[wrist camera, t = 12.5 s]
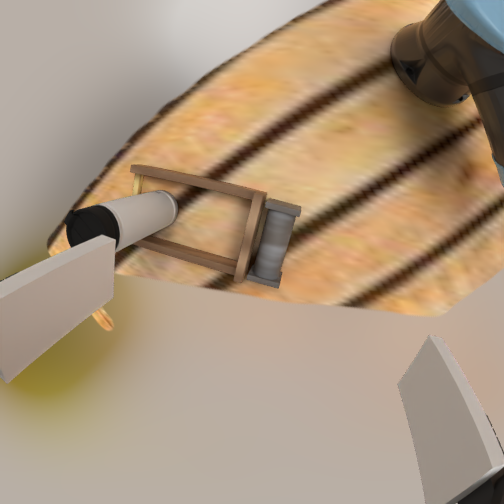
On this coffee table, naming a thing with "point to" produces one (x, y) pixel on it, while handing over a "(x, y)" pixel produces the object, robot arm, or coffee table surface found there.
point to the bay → (271, 240)
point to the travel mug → (122, 219)
